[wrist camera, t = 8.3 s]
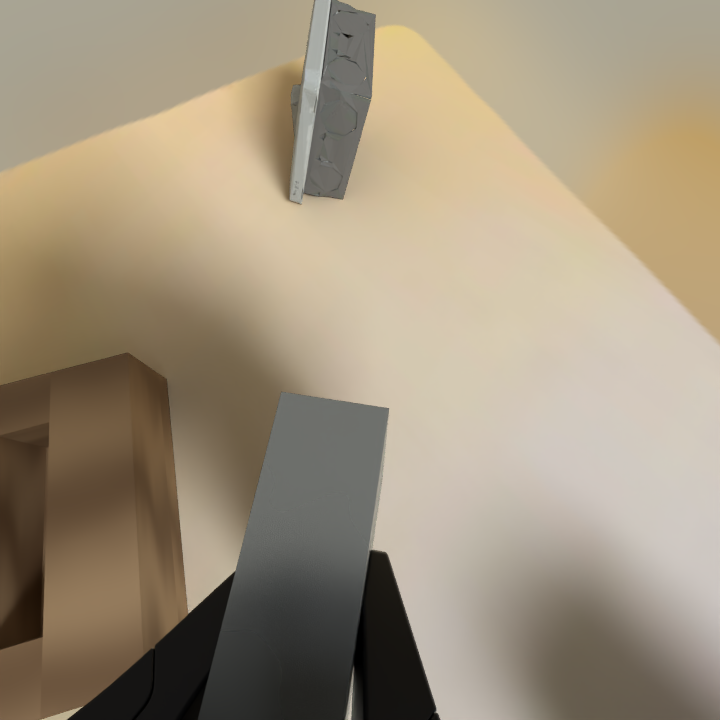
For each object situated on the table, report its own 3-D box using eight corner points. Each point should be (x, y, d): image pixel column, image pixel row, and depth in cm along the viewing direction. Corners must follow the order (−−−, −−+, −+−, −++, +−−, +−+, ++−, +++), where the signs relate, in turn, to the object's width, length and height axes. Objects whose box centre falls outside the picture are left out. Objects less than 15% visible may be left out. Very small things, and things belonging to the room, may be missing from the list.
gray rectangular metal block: (347, 720, 14) (259, 1285, 4) (296, 708, 14) (71, 1212, 4) (382, 480, 17) (389, 408, 6) (339, 472, 17) (281, 391, 7)
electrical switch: (302, 118, 32) (289, -30, 23) (366, 123, 32) (377, -22, 24) (289, 210, 29) (268, 75, 20) (361, 215, 29) (372, 84, 20)
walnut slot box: (191, 654, 18) (144, 687, 15) (-32, 723, 18) (-139, 775, 14) (166, 379, 24) (127, 352, 20) (-6, 425, 23) (-79, 406, 19)
